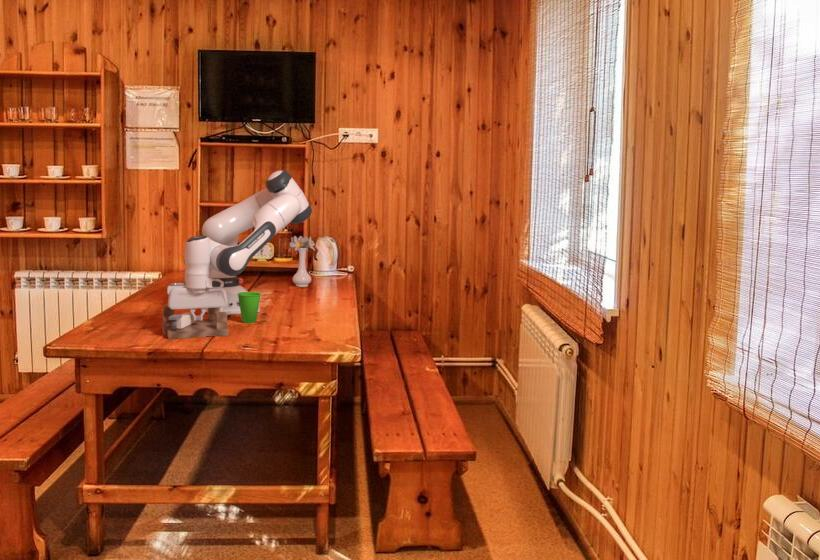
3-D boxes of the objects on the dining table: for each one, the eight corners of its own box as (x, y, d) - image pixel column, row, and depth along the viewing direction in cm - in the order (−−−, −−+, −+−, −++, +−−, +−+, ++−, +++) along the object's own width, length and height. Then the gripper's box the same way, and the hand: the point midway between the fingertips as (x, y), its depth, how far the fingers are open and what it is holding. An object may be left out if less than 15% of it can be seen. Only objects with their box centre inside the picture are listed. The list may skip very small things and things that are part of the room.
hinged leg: (177, 330, 271) (177, 317, 270) (167, 329, 272) (167, 316, 271) (195, 322, 286) (194, 309, 285) (185, 321, 286) (185, 309, 285)
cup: (249, 325, 297) (249, 296, 295) (231, 322, 301) (232, 293, 300) (266, 322, 304) (266, 293, 303) (248, 318, 309) (248, 290, 307)
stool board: (218, 324, 296) (218, 303, 295) (227, 335, 278) (227, 313, 277) (159, 327, 288) (159, 305, 287) (165, 339, 270) (165, 316, 269)
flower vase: (312, 283, 406) (312, 234, 402) (316, 288, 388) (317, 237, 384) (286, 283, 403) (286, 233, 399) (289, 288, 385) (289, 237, 381)
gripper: (168, 284, 273) (168, 323, 275) (228, 282, 281) (228, 321, 283) (165, 281, 279) (166, 320, 281) (224, 280, 287) (224, 317, 289)
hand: (197, 320), depth 282 cm, fingers closed
